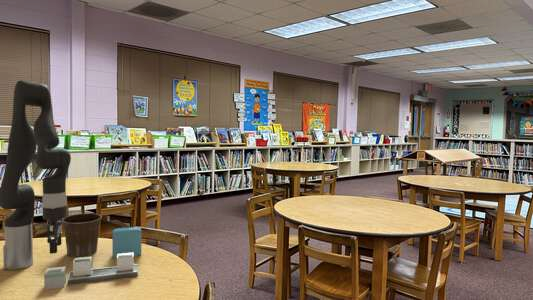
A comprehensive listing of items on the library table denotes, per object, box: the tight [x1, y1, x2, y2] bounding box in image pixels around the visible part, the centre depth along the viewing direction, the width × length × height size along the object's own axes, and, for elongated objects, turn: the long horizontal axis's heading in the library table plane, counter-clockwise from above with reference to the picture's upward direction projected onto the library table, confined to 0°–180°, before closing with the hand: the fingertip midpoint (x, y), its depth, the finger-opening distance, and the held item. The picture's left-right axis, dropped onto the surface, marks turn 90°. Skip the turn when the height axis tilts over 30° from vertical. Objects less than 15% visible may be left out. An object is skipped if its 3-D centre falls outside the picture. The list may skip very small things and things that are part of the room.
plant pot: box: [62, 213, 103, 258], centre depth 160 cm, size 16×16×16 cm
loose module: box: [43, 266, 67, 290], centre depth 127 cm, size 6×5×6 cm
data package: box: [111, 226, 142, 259], centre depth 158 cm, size 12×4×12 cm, turn 112°
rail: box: [67, 252, 139, 286], centre depth 136 cm, size 24×8×8 cm, turn 111°
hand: (55, 249), depth 126 cm, fingers open, 8 cm apart
